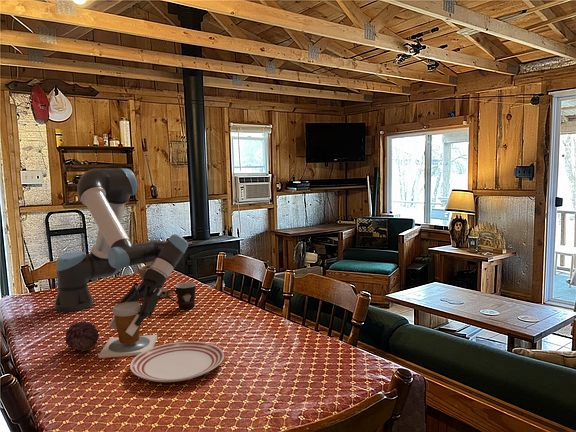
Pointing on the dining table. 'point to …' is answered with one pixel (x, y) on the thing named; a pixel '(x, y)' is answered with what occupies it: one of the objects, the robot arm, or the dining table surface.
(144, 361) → the dinner plate
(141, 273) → the tan irregular lump
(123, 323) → the disposable coffee cup
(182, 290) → the coffee mug
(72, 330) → the pine cone
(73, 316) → the dining table surface
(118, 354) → the board
